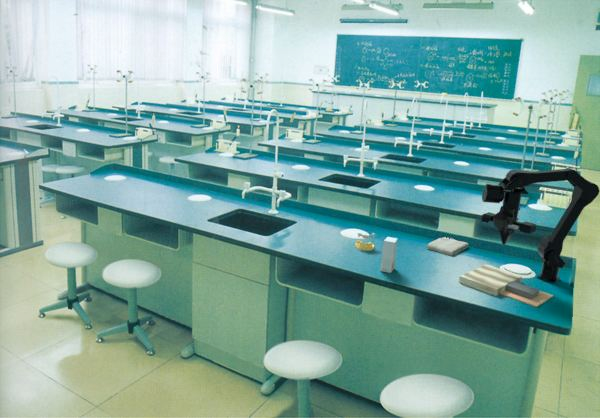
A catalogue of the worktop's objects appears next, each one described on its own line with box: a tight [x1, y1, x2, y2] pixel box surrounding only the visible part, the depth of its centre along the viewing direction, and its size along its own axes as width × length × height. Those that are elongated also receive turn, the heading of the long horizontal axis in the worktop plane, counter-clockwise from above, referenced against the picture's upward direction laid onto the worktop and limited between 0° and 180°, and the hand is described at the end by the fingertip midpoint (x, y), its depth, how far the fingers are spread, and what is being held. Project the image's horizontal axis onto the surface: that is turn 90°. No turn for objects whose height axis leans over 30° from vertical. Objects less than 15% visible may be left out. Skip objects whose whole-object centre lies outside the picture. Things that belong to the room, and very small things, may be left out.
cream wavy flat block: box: [458, 264, 523, 297], centre depth 181 cm, size 20×14×2 cm
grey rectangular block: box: [506, 281, 540, 299], centre depth 173 cm, size 6×9×2 cm, turn 43°
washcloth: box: [426, 236, 469, 257], centre depth 216 cm, size 12×18×3 cm, turn 140°
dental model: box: [354, 232, 376, 252], centre depth 209 cm, size 8×7×7 cm
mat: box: [499, 290, 554, 308], centre depth 172 cm, size 14×12×1 cm
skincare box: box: [379, 236, 399, 274], centre depth 186 cm, size 6×4×12 cm
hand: (503, 244), depth 187 cm, fingers closed
